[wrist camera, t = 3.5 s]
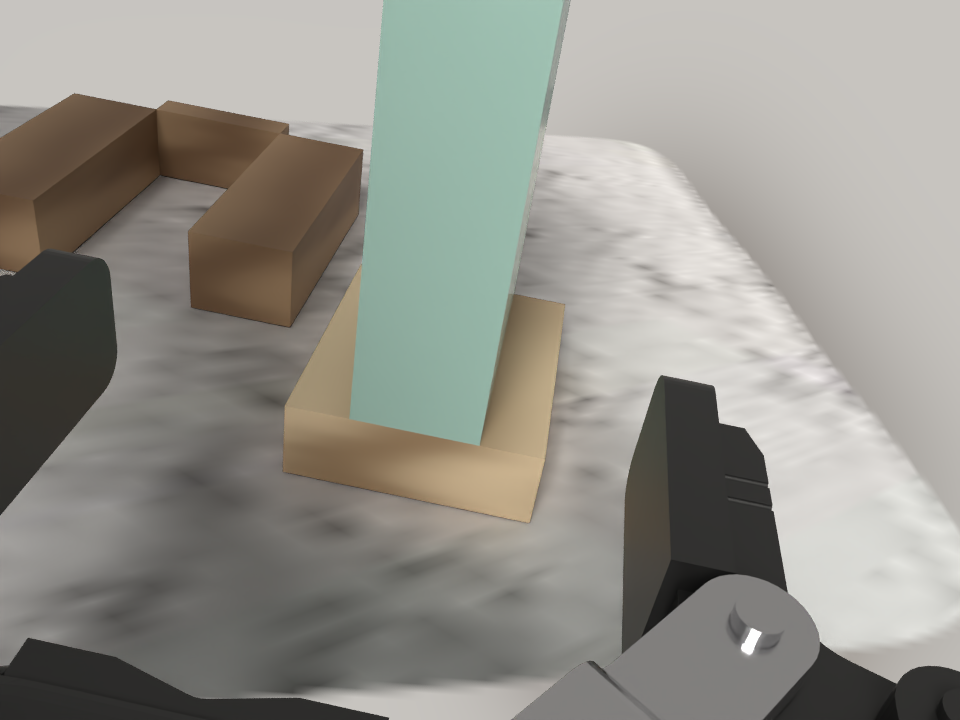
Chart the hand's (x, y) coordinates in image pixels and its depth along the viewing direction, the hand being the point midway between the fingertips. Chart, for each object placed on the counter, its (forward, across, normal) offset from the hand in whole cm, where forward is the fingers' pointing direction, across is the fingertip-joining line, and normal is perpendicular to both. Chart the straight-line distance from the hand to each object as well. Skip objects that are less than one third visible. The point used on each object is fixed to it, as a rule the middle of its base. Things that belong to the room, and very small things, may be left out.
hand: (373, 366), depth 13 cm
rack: (+15, +10, +8) cm, 20 cm away
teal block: (+9, 0, +5) cm, 10 cm away
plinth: (+9, 0, +7) cm, 11 cm away
